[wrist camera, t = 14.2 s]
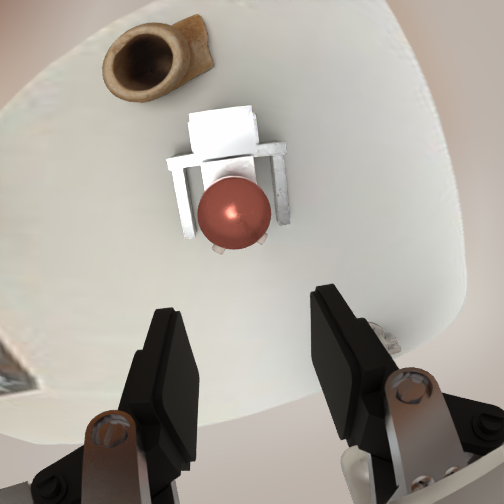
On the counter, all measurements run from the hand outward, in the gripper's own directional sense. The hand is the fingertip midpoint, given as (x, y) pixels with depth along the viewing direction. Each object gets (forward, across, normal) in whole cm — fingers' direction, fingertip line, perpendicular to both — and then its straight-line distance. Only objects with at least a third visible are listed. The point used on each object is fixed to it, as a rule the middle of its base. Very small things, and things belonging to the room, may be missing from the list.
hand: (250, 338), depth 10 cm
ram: (+28, 0, 0) cm, 28 cm away
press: (+39, 0, 0) cm, 39 cm away
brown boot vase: (+40, +7, -18) cm, 44 cm away
